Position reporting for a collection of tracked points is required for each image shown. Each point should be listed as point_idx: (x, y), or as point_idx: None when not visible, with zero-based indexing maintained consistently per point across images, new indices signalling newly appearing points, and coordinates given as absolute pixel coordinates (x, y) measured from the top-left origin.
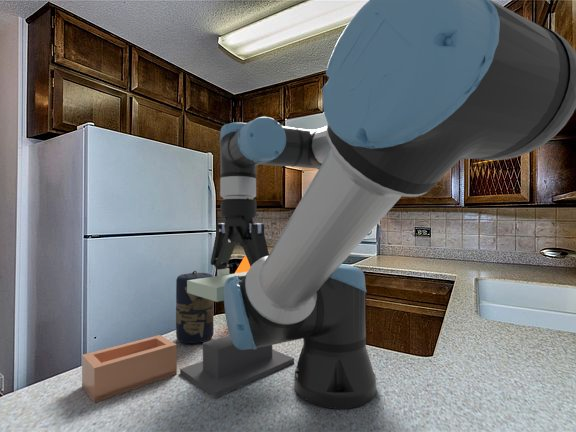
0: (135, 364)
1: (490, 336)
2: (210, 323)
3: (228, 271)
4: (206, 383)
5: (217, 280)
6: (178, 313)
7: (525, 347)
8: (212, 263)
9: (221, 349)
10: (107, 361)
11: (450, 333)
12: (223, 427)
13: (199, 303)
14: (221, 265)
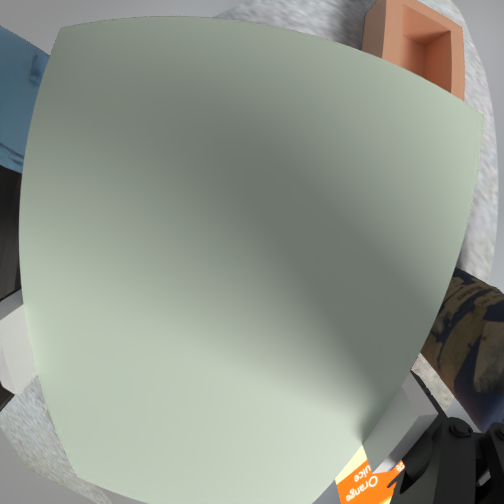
0: (376, 48)
1: (51, 461)
2: None
3: (371, 455)
4: None
5: (271, 229)
6: (492, 288)
7: (22, 440)
8: (496, 430)
9: None
10: (400, 10)
11: None
12: None
13: (465, 335)
14: (427, 458)
